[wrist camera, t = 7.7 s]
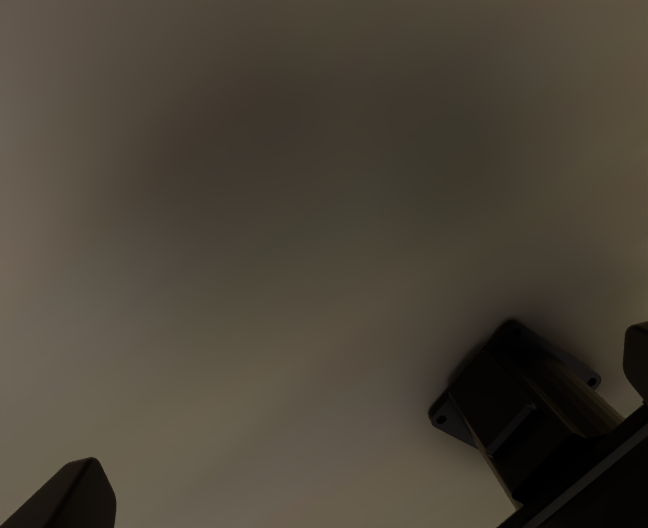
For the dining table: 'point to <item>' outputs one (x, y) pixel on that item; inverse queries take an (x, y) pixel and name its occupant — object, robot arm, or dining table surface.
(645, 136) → the dining table surface
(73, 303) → the dining table surface
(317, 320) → the dining table surface
